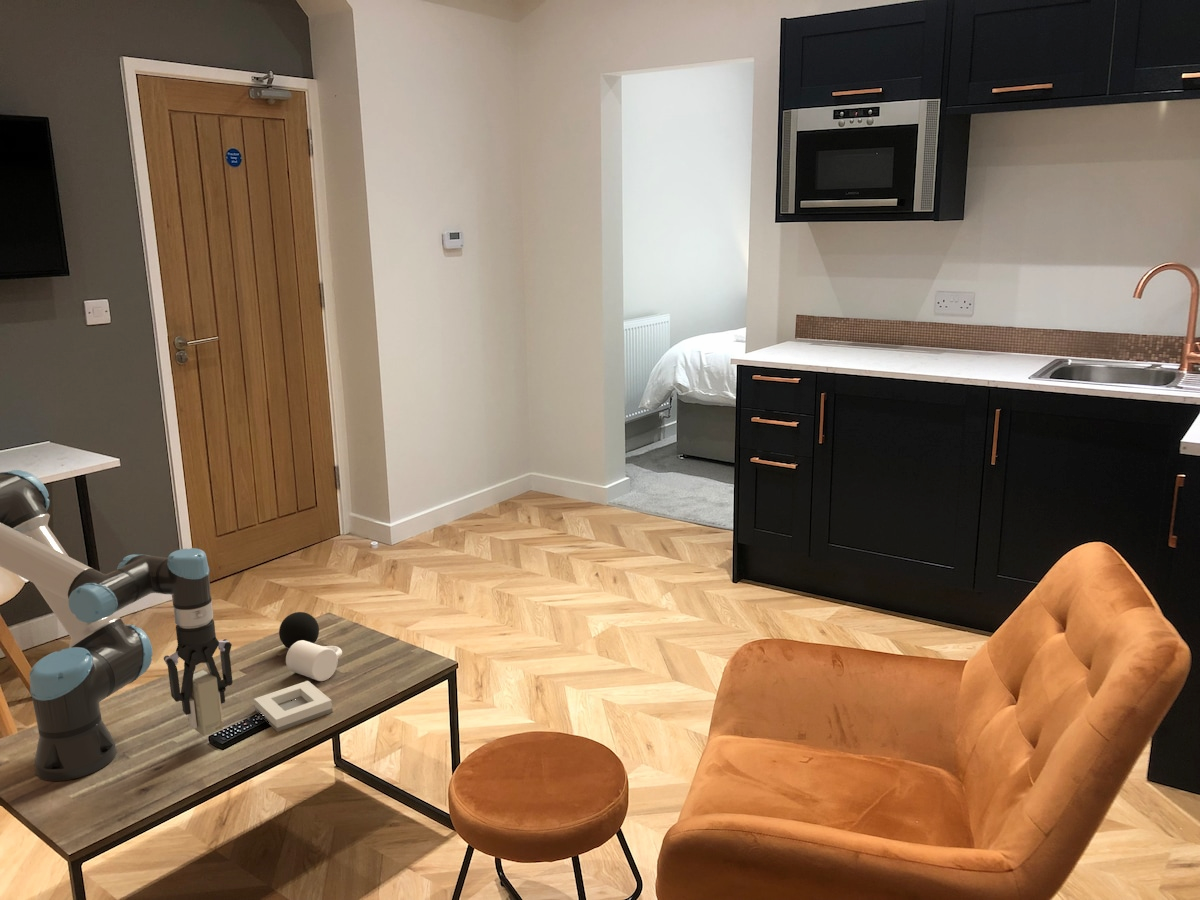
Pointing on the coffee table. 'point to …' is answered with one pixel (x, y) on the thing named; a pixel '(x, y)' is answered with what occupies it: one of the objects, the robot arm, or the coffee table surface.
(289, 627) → the decorative ball
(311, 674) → the mug
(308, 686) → the socket block
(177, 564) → the robot arm
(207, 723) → the skincare box
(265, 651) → the coffee table surface
